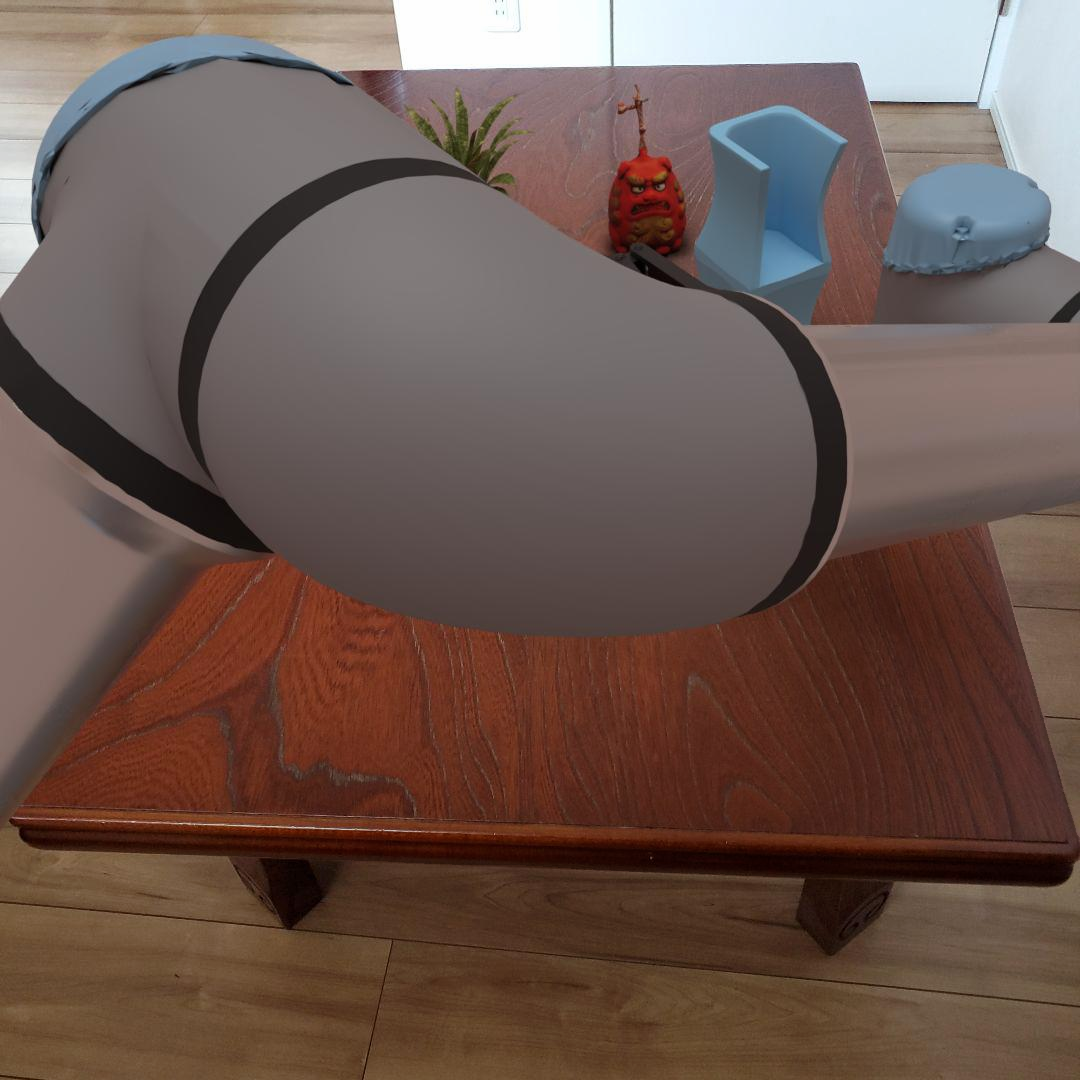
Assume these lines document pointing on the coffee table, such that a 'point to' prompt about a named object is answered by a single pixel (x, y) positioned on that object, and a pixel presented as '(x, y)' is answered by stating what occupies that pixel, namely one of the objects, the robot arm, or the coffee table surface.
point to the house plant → (472, 140)
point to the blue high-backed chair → (770, 208)
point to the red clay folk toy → (646, 199)
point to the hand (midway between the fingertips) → (478, 304)
